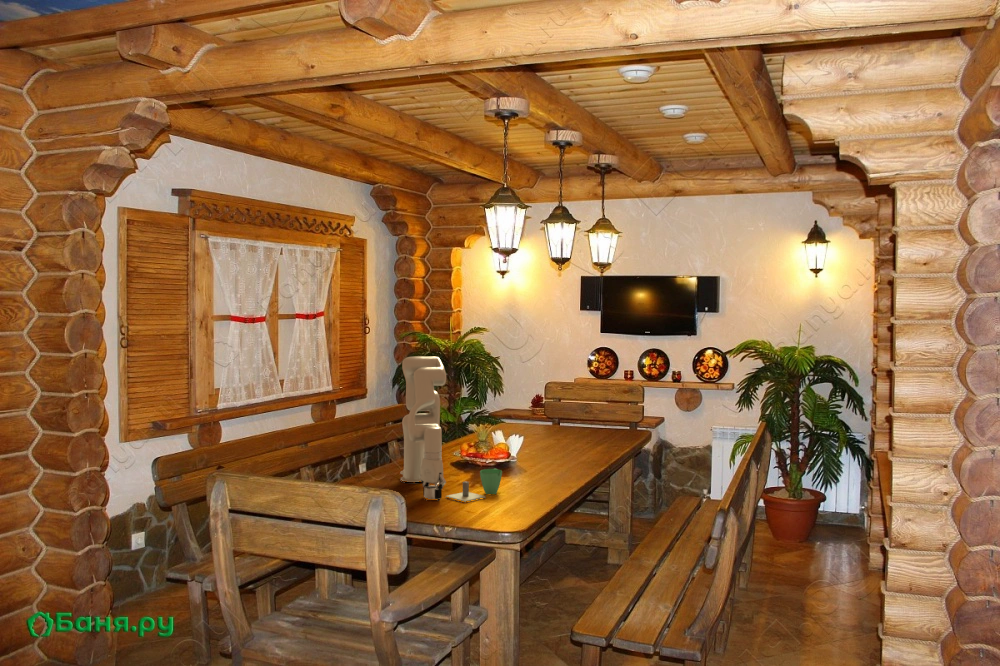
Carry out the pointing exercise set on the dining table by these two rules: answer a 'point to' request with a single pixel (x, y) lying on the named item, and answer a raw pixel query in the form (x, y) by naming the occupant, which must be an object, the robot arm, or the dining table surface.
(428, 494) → the white hollow cylinder
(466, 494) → the square base peg stand
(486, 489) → the mug
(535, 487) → the dining table surface
